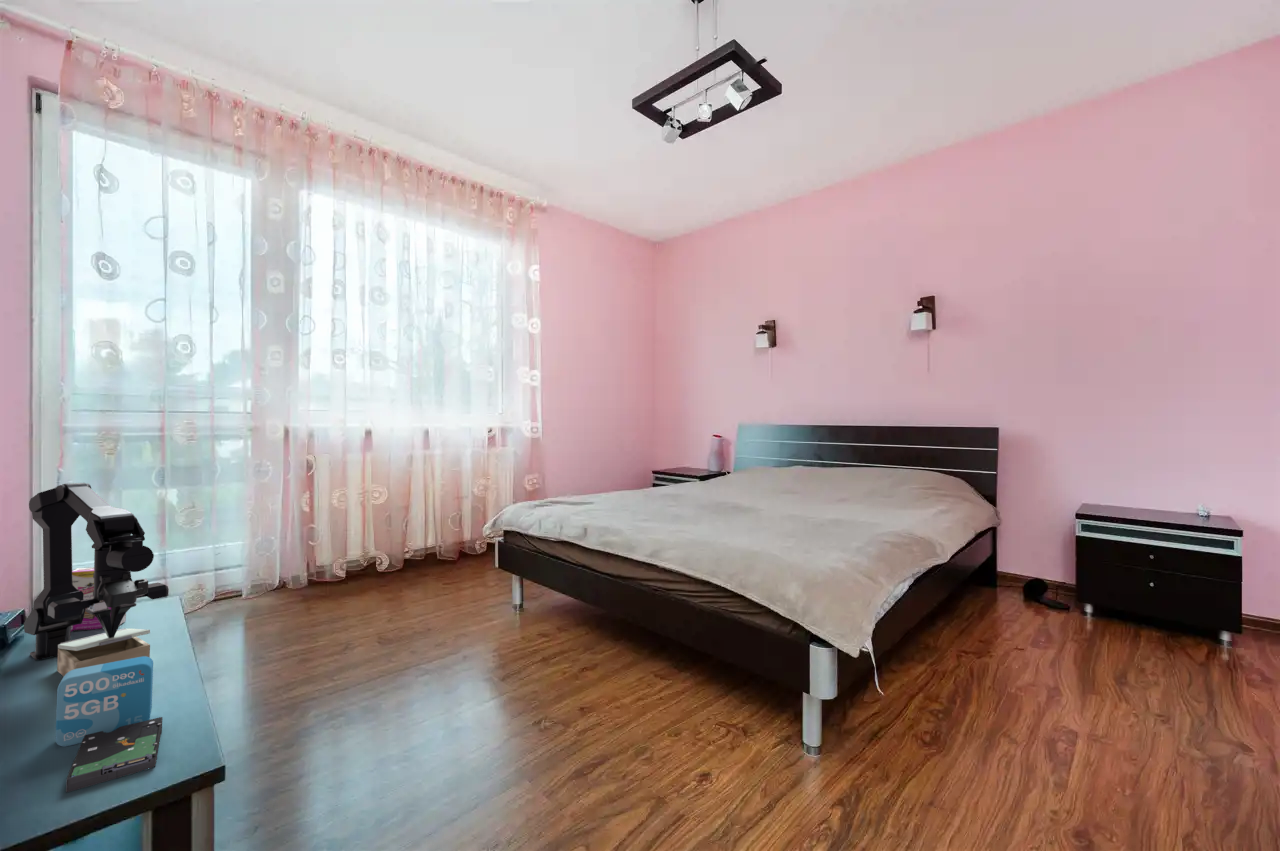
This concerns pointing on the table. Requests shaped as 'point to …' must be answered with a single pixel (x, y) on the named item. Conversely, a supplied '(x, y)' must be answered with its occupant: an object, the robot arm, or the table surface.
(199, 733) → the table surface
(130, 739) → the disk drive
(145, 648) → the box
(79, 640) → the lid
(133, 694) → the data package
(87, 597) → the candy bar box
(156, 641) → the table surface
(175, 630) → the table surface
